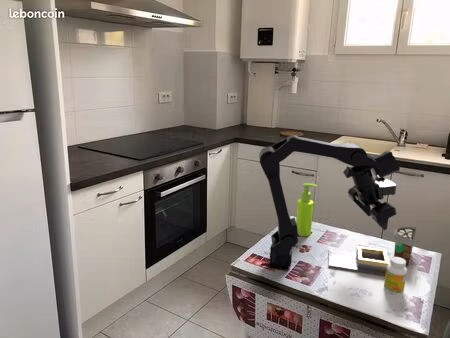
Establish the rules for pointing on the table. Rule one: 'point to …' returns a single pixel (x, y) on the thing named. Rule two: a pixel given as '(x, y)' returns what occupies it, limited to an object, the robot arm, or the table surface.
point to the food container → (404, 242)
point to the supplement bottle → (395, 276)
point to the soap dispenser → (305, 211)
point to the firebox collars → (360, 260)
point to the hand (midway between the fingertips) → (377, 222)
